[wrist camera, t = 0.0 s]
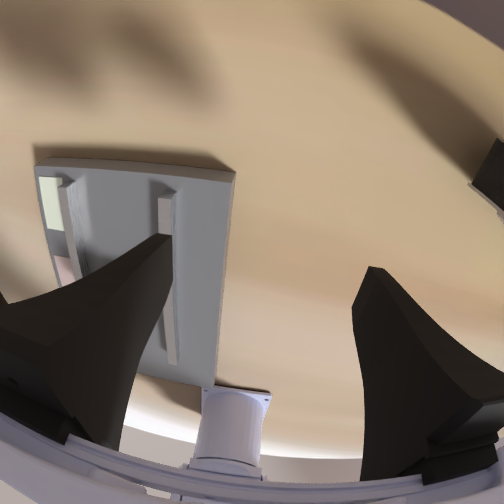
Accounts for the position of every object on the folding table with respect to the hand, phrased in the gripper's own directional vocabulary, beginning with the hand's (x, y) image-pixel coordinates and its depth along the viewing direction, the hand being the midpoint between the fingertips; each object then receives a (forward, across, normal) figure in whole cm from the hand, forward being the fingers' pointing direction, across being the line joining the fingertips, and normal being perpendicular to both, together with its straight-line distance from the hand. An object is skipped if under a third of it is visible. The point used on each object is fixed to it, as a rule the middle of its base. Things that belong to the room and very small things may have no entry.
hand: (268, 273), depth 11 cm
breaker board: (+10, +10, +11) cm, 18 cm away
